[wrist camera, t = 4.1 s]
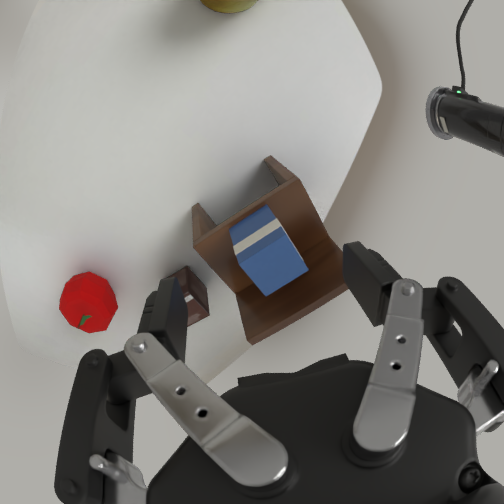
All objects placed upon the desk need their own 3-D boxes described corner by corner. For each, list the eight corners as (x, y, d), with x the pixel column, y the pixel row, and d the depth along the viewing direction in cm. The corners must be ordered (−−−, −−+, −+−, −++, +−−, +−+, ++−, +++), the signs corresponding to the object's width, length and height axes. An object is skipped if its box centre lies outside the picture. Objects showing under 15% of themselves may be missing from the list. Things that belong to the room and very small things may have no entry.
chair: (191, 206, 41) (195, 293, 24) (270, 155, 39) (332, 206, 22) (228, 251, 46) (252, 345, 30) (299, 206, 44) (362, 279, 28)
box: (180, 302, 50) (180, 331, 44) (159, 280, 47) (157, 309, 40) (207, 287, 49) (210, 315, 43) (188, 264, 46) (188, 292, 40)
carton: (227, 228, 31) (237, 264, 25) (266, 203, 30) (286, 233, 24) (251, 259, 33) (265, 297, 28) (287, 236, 33) (309, 270, 27)
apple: (98, 316, 48) (88, 355, 40) (58, 283, 42) (41, 320, 34) (131, 292, 47) (123, 332, 38) (89, 252, 41) (71, 290, 32)
